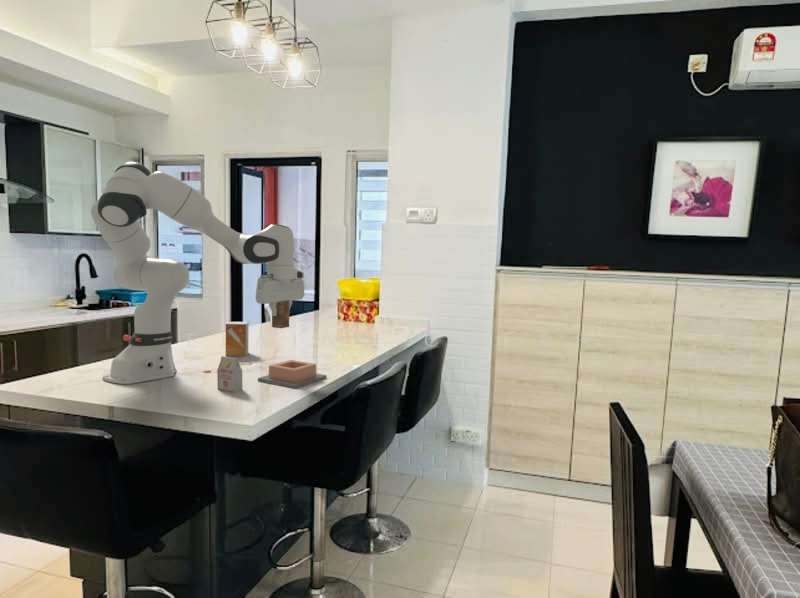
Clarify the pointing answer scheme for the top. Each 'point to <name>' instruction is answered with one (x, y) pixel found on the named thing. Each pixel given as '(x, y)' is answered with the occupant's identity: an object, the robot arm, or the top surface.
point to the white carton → (229, 375)
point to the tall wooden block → (281, 315)
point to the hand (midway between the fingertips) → (280, 314)
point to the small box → (237, 338)
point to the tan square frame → (292, 374)
